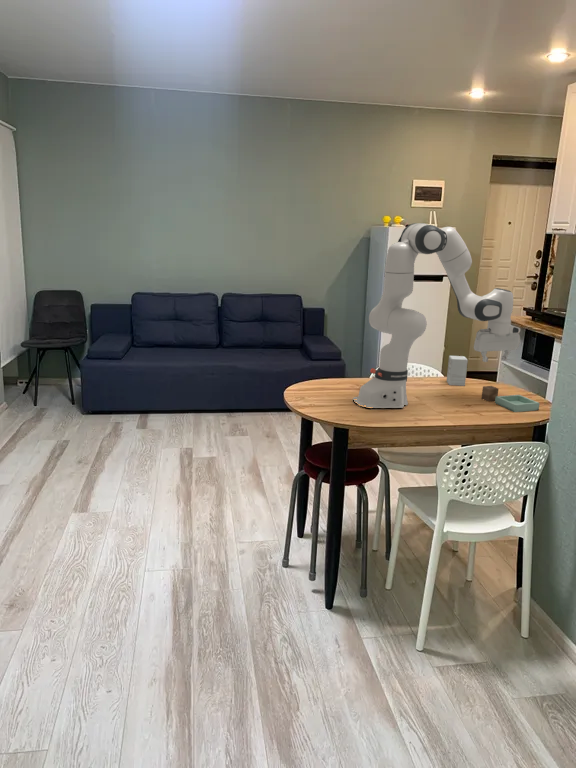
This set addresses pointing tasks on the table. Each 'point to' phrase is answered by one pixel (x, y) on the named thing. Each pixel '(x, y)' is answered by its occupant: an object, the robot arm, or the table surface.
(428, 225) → the robot arm
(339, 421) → the table surface
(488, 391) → the walnut block
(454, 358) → the supplement box
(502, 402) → the sage tray
